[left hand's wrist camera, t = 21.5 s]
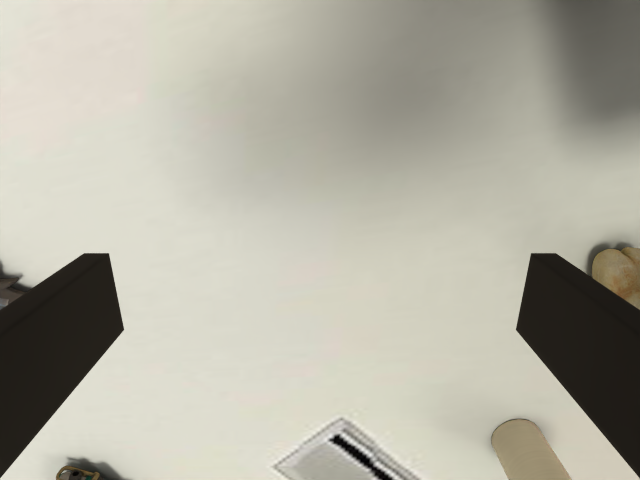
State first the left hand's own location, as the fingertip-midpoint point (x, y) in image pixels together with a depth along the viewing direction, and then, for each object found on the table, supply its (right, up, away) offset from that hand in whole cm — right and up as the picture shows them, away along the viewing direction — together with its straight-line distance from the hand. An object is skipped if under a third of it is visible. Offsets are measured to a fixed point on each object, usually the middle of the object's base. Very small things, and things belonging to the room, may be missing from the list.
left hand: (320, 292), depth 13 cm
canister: (+24, -22, +35) cm, 48 cm away
